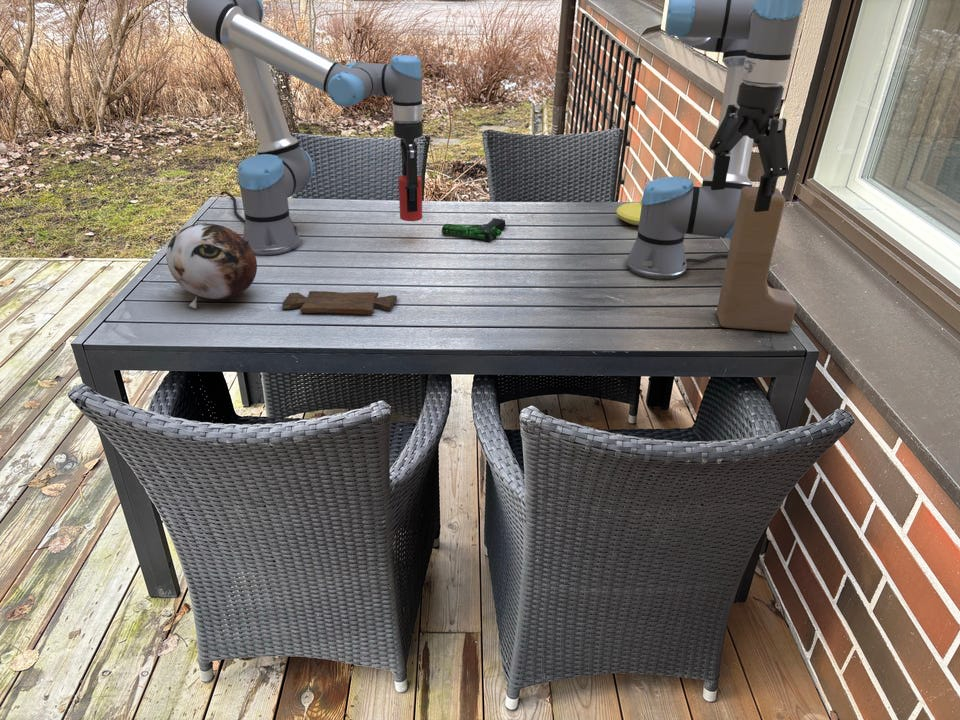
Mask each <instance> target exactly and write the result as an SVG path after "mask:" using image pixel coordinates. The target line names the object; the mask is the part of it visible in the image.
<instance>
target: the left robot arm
mask: <svg viewBox="0 0 960 720" xmlns="http://www.w3.org/2000/svg"><path fill="white" fill-rule="evenodd" d="M263 5H264V4H263V2H262V0H186V12H187V16H188V19H189V21H190V23H191V24H192V25H193V27H194V28H195V29H196V30H197V31H198V32H199V33H200V34H201V35H203V36H205V37H206V38H209V39H210V40H212V41H213V42H216V43H217V44H218V45H219V46H220V47H222V48H224V49H225V50H226V51H227V52H228V55H229V59H230V61H231V64H232V67H233V70H234V72H235V75H236V78H237V81H238V84H239V87H240V90H241V92H242V95H243V99H244V101H245V104H246V106H247V109H248V113H249V115H250V119H251V122H252V124H253V128H254V131H255V133H256V136H257V138H258V142H259V145H258V147H257V149H256V153H257V154H256V155H254V156H249V157H247V158H245V159H243V160H241V162H240V163H239V164H238V166H237V174H238V175H237V182H238V184H239V190H240V196H241V201H242V208H243V212H244V213H243V215H244V218H243V217H242V216H241V215H240V214H239V213H238V209H237V208H238V207H237V199H236V197H235V196H234V195H232V194H231V193H230V192H228V191H225V190H222V191H221V192H220V193H219V195H220V196H223V195H224V194H225V195H227V196H228V197H229V198H231V199H232V198H233V199H232V201H233V202H232V203H233V212H234V215H235V216H236V218H237V219H238V220H240V221H241V222H242V223H244V226H243V228H244V229H243V235H242V237H243V238H244V239H245V240H246V241H249V242H248V244H249V245H250V247H251V248H252V250H253V252H254V254H255V256H256V255H257V256H275V255H281V254H282V255H283V254H285V253H289V252H291V251H293V250H296V249H297V248H298V247H299V246H300V244H301V241H300V235H299V233H298V232H299V231H298V228H297V226H296V225H294V223H293V220H292V218H291V216H290V207H289V200H288V199H289V198H290V197H292V196H293V195H295V194H297V193H298V192H301V191H302V190H303V189H305V188H306V187H307V185H308V184H309V183H310V182H311V180H312V179H313V175H314V163H313V160H312V157H311V156H310V154H309V153H308V151H306V150H304V148H302V147H301V145H300V142H299V139H298V138H296V137H295V136H293V135H292V134H291V132H290V129H289V126H288V123H287V120H286V116H285V114H284V111H283V108H282V107H283V106H282V105H281V101H280V98H279V95H278V92H277V89H276V86H275V83H274V79H273V76H272V74H271V70H270V68H269V65H270V66H272V67H275V68H276V69H278V70H280V71H282V72H284V73H286V74H289V75H290V76H292V77H294V78H296V79H298V80H300V81H302V82H304V83H306V84H308V85H310V86H311V87H313V88H316V89H318V90H320V91H321V92H324V93H325V94H328V96H329V98H330V99H331V101H332V102H333V103H334V104H335V105H337V106H339V107H341V108H348V107H353V106H356V105H358V104H359V103H360V102H362V101H364V100H366V99H367V98H369V97H372V96H387V97H392V119H393V121H394V122H393V136H394V137H395V138H398V139H400V151H401V152H400V155H401V176H404V175H407V187H405V189H406V190H407V212H417V188H418V177H417V176H418V144H417V142H416V141H415V140H416V139H419V138H421V137H423V135H424V128H423V127H424V125H423V124H424V123H423V121H422V120H423V112H424V111H425V106H423V74H422V62H421V58H419V57H418V56H416V55H409V54H408V55H407V54H404V55H402V54H401V55H400V54H399V55H394V56H392V57H391V59H390V63H377V62H375V63H374V62H364V61H351V62H348V63H347V64H346V66H345V65H343V64H342V63H339V62H338V61H336V60H334V59H332V58H330V57H329V56H326V55H324V54H322V53H320V52H318V51H316V50H314V49H313V48H310V47H308V46H307V45H304V44H303V43H301V42H298V41H297V40H295V39H293V38H291V37H289V36H287V35H285V34H283V33H281V32H279V31H278V30H276V29H273V28H271V27H270V26H268V25H265V24H263V23H262V21H263V18H264V15H265V14H264V6H263Z"/></svg>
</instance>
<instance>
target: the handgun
mask: <svg viewBox="0 0 960 720" xmlns="http://www.w3.org/2000/svg"><path fill="white" fill-rule="evenodd" d="M505 228H506V220H505V219H503V218H497V217H492V219H491V220H490V221H489V222H488V223H483V224H482V225H479V224H472V225H459V224H453V223H445V224H443V226H442V227H441V235H446V236H454V237H462V238H469V239H470V238H471V239H474V240H479V241H484V242H491V241H492V240H494V239H495V238H497V237H500V236H502V230H504V229H505Z"/></svg>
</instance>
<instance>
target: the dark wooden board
mask: <svg viewBox="0 0 960 720" xmlns="http://www.w3.org/2000/svg"><path fill="white" fill-rule="evenodd" d="M379 294H380V293H379V292H375V291H357V292H356V291H354V292H353V291H352V292H351V291H349V292H348V291H347V292H342V291H341V292H340V291H325V290H324V291H323V290H322V291H321V290H320V291H318V290H309V291H308V295H307V296H305V295H303V294H301V293H300V292H289V293H288V295H287V296H286V298H285V299H284V300H283V302H282V305H281V306H282V307H281V309H283V310H293V309H294V310H295V309H298V308H300V309H299V310H300V313H302V314H318V313H331V314H334V313H335V314H355V315H369V314H373V313H374V310H375V309H381V310H384V311H391V310H392V309H393V307H394V306H395V304H396V302H397V301H398V296H397V295H395V294H392V295H386V296H379Z"/></svg>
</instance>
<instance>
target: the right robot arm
mask: <svg viewBox="0 0 960 720" xmlns="http://www.w3.org/2000/svg"><path fill="white" fill-rule="evenodd" d="M803 3H804V0H668V5H667V13H666V21H665V34H666V35H668V36H670V37H676V38H677V39H678V41H680V42H681V43H682V44H684V45H686V46H688V47H690V48H693V49H696V50H698V51H699V50H700V51H704V52H707V53H708V52H710V53H722V59H721V60H722V61H721V62H722V64H723V65H724V66H725V67H726V69H727V71H726V75H725V76H726V77H725V82H724V90H723V95H722V102H721V107H720V113H719V119H718V125H717V131H716V132H715V134H714V136H713V139H712V141H711V142H710V143H709V150H710V151H713V155H712V161H711V162H712V163H711V168H710V173H709V174H708V175H706V176H705V177H704V178H703V179H702V183H701V184H702V185H701V186H695V185H694V181H693V180H692V179H690V178H689V177H683V176H664V177H659V178H655V179H653V180H651V181H649V182H647V184H646V185H645V186H644V189H643V193H642V198H641V199H642V200H641V199H640V202H641V203H642V207H641V214H640V221H639V226H638V227H637V228H638V229H637V236H636V239H635V241H634V243H633V246H632V248H631V250H630V252H629V254H628V255H627V258H626V265H625V266H626V269H628V271H629V272H631V273H632V274H634V275H636V276H638V277H641V278H646V279H651V280H657V281H658V280H659V281H668V280H675V279H679V278H681V277H683V276H684V275H685V274H686V273H687V268H688V267H687V266H688V264H687V263H706V262H708V261H710V260H712V259H715V258H728V253H716V254H712V255H708V257H705V258H687V257H686V251H685V245H684V240H685V235H693V236H703V237H713V238H720V239H731V238H732V233H733V228H734V224H735V219H736V214H737V209H738V204H739V199H740V194H741V189H742V188H743V187H745V186H748V187H753V182H752V181H751V180H750V178H749V176H748V175H749V169H750V164H751V157H752V152H753V146H754V144H756V146H757V150H758V154H759V157H760V161H761V164H762V168H763V172H764V174H762V175H761V176H760V180H759V184H758V187H759V189H758V194H757V198H756V203H755V208H754V211H755V212H762V211H769V207H770V202H771V198H772V195H773V194H774V193H775V188H777V183H778V179H779V178H780V177H788V175H789V174H790V172H789V171H790V170H789V159H788V158H789V157H788V148H787V138H786V136H787V135H786V128H787V122H788V121H787V118H786V117H784V118H783V117H782V118H775V111H776V110H777V109H778V108H780V106H781V104H782V99H783V95H784V94H783V93H784V89H785V87H784V86H783V85H782V84H784V83H786V81H787V77H788V72H789V67H790V62H791V56H792V51H793V46H794V43H795V39H796V34H797V30H798V27H799V26H798V25H799V21H800V20H799V19H800V16H801V13H802V12H803V9H804V7H803Z"/></svg>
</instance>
